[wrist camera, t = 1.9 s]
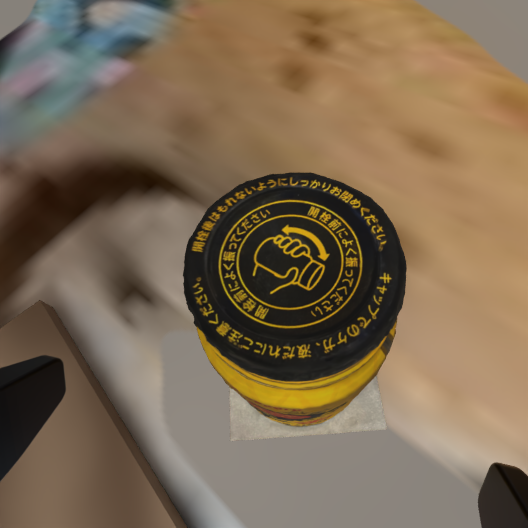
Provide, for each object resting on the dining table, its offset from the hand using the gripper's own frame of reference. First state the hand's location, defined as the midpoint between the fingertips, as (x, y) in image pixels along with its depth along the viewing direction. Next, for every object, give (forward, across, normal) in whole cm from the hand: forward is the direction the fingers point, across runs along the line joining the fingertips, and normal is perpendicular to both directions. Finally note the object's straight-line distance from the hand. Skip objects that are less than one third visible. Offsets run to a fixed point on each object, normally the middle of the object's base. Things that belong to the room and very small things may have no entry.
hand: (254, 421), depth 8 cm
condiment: (+11, 0, +5) cm, 12 cm away
